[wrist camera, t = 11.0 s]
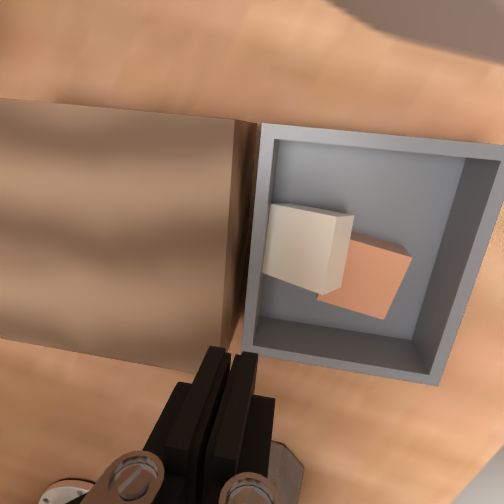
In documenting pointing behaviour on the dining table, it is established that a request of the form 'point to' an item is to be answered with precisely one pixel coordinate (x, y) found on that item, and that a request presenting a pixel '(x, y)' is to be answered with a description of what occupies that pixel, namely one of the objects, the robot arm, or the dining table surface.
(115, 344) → the block
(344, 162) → the box
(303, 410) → the dining table surface
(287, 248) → the tile
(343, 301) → the tile
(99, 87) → the dining table surface
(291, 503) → the coffeepot
